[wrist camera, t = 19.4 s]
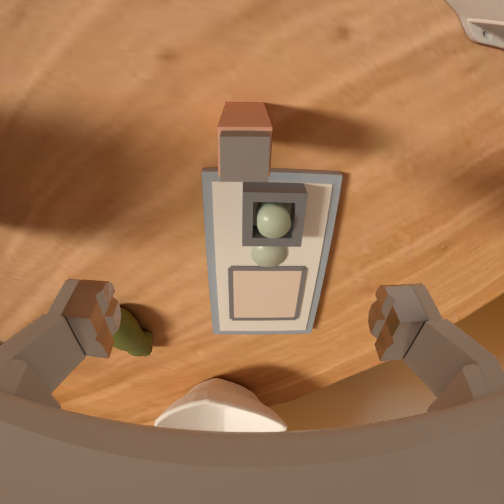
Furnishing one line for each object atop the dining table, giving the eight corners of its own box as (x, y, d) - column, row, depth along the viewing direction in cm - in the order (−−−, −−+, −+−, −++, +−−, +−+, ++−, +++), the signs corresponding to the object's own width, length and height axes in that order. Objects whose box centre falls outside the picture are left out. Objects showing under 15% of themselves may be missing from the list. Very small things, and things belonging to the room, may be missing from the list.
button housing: (303, 183, 31) (307, 193, 29) (297, 233, 35) (301, 246, 33) (242, 181, 31) (242, 192, 29) (242, 233, 35) (242, 246, 33)
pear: (118, 329, 37) (160, 362, 44) (124, 296, 41) (162, 332, 48) (88, 336, 38) (131, 367, 45) (95, 304, 42) (134, 338, 49)
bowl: (209, 346, 48) (206, 393, 41) (297, 388, 57) (302, 427, 50) (147, 389, 57) (140, 427, 50) (228, 421, 65) (227, 454, 58)
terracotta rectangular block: (263, 102, 27) (274, 133, 18) (262, 137, 30) (271, 185, 20) (225, 102, 27) (215, 132, 18) (225, 137, 29) (216, 185, 20)
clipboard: (340, 171, 32) (343, 176, 31) (310, 328, 46) (311, 335, 45) (202, 167, 31) (201, 173, 30) (213, 328, 45) (213, 336, 44)
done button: (289, 198, 31) (292, 209, 29) (286, 225, 33) (289, 238, 31) (256, 197, 31) (257, 209, 29) (255, 225, 33) (256, 238, 31)
